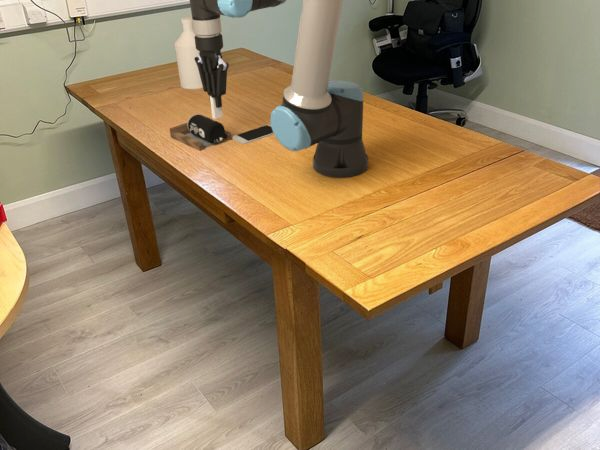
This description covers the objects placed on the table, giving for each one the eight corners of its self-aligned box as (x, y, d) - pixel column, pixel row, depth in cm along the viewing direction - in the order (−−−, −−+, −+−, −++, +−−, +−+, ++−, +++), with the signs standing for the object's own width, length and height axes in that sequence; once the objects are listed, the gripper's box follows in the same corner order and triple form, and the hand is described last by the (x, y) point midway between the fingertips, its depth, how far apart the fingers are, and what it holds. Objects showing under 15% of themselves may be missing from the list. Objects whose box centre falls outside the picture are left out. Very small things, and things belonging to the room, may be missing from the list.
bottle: (208, 88, 224) (200, 21, 212) (177, 89, 225) (167, 22, 212) (212, 79, 235) (205, 14, 222) (183, 80, 235) (174, 15, 222)
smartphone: (230, 139, 182) (230, 136, 181) (270, 126, 190) (270, 123, 189) (243, 145, 177) (243, 142, 176) (283, 132, 185) (283, 129, 185)
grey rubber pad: (225, 139, 180) (225, 138, 180) (203, 148, 175) (202, 146, 175) (202, 130, 188) (202, 129, 187) (180, 137, 183) (180, 136, 182)
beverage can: (214, 119, 172) (192, 109, 180) (204, 139, 172) (182, 128, 180) (229, 128, 177) (207, 118, 185) (219, 147, 177) (197, 137, 185)
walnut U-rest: (231, 138, 180) (231, 129, 179) (200, 150, 173) (198, 141, 172) (202, 126, 190) (201, 117, 189) (171, 137, 183) (169, 128, 182)
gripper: (233, 34, 157) (241, 118, 169) (205, 28, 165) (214, 108, 177) (211, 40, 152) (220, 126, 164) (182, 33, 161) (194, 115, 173)
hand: (217, 117), depth 171 cm, fingers closed
